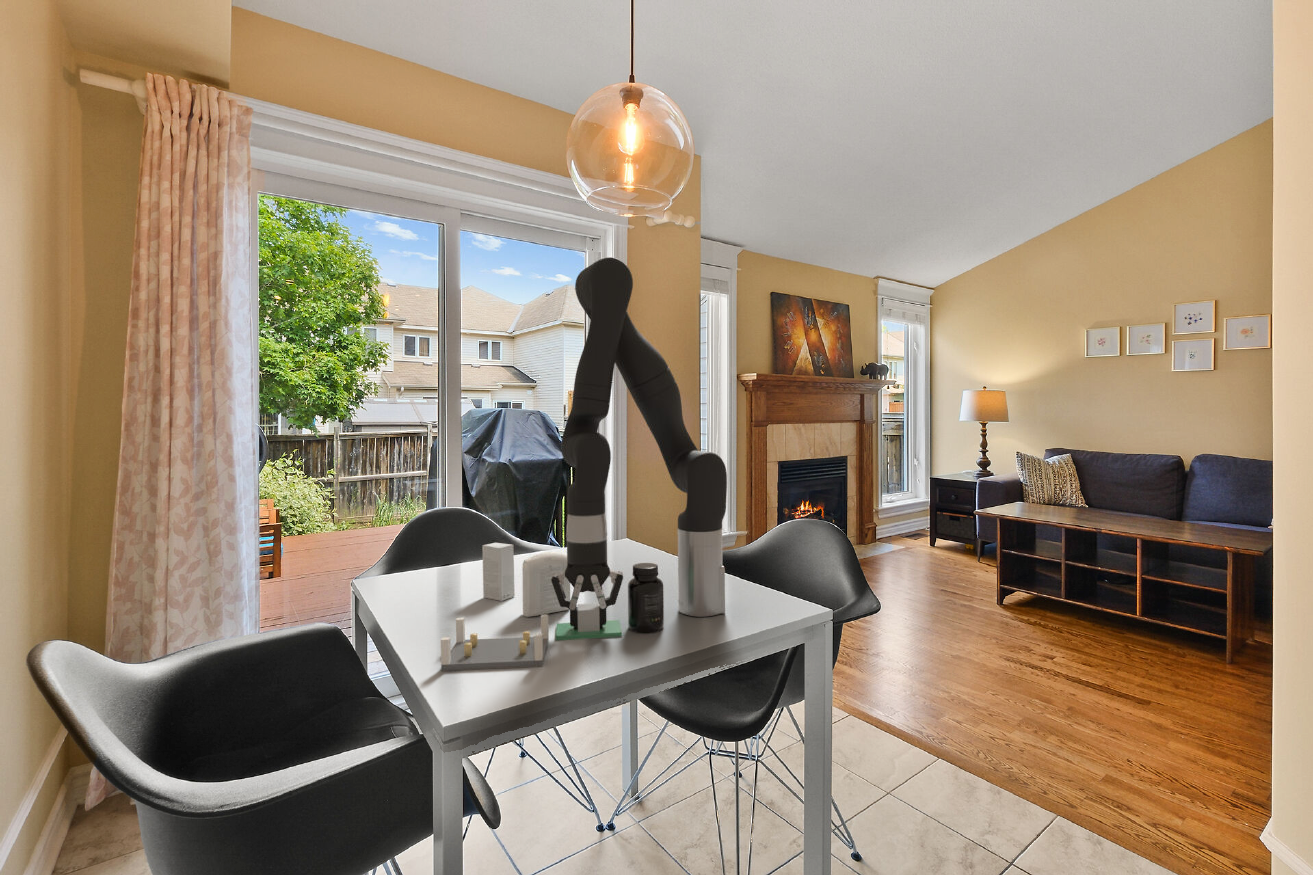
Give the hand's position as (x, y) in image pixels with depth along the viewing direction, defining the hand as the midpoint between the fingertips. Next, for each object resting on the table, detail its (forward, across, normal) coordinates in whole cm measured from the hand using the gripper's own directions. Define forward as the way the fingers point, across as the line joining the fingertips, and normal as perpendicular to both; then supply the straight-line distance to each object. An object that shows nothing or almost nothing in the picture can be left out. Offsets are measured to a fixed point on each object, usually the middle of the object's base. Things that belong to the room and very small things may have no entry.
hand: (588, 626), depth 115 cm
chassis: (+1, +15, +10) cm, 18 cm away
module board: (+1, 0, 0) cm, 1 cm away
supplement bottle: (+1, -11, -1) cm, 11 cm away
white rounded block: (+1, +9, -13) cm, 16 cm away
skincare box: (+1, +21, -25) cm, 33 cm away
